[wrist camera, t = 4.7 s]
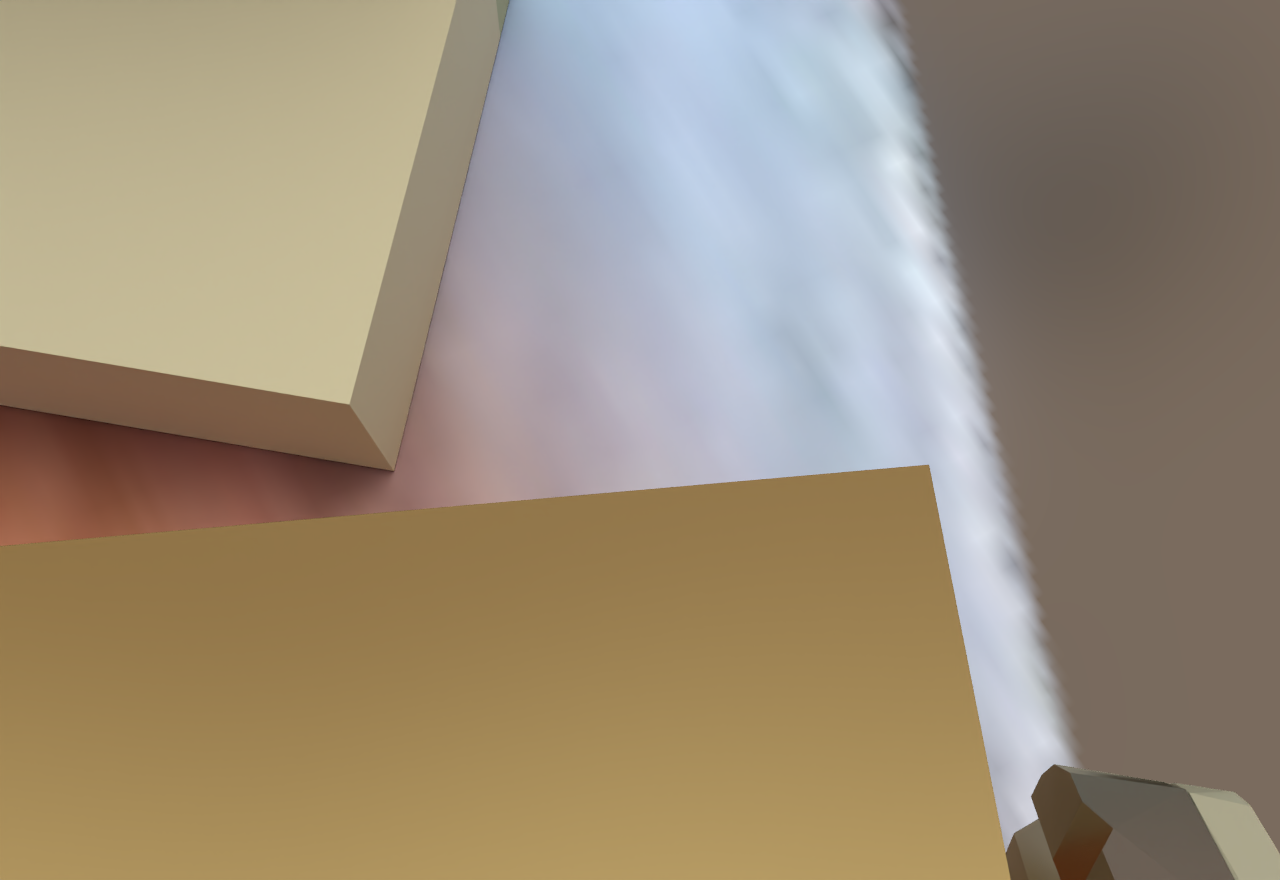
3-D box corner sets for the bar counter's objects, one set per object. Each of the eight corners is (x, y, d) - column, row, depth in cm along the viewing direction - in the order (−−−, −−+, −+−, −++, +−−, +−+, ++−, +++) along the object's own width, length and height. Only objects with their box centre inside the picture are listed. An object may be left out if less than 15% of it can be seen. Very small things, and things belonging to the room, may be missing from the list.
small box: (727, 889, 13) (1079, 1227, 4) (368, 933, 13) (-212, 1426, 4) (699, 654, 14) (930, 464, 5) (362, 689, 14) (-110, 555, 4)
